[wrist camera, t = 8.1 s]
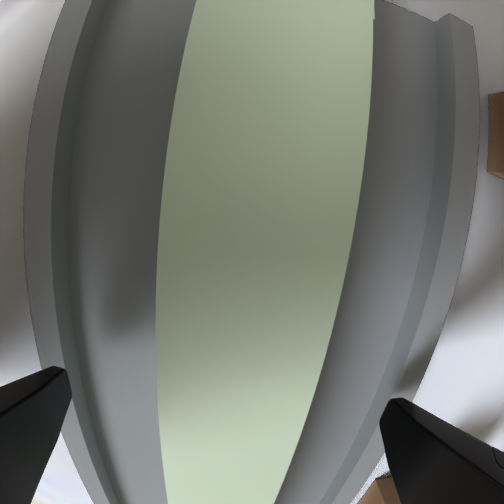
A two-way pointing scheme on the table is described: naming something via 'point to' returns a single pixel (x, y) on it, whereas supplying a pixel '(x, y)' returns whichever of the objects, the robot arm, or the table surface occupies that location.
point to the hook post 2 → (496, 135)
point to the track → (147, 233)
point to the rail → (255, 235)
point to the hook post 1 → (381, 492)
